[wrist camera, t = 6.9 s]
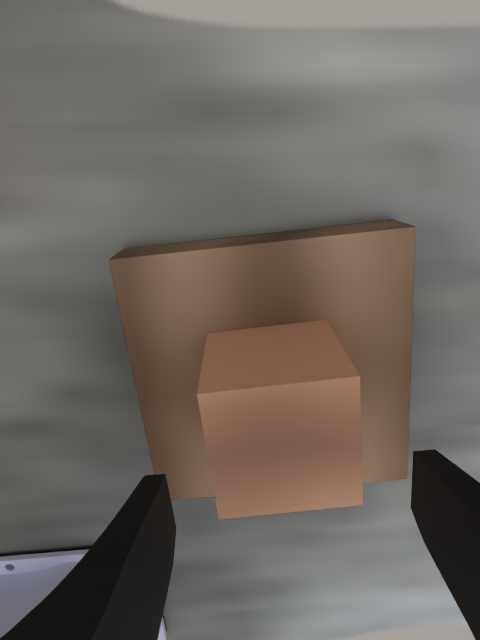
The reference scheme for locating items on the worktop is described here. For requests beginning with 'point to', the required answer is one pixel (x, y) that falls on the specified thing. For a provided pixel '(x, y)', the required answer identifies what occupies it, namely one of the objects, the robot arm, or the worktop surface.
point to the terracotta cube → (281, 420)
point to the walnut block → (268, 310)
